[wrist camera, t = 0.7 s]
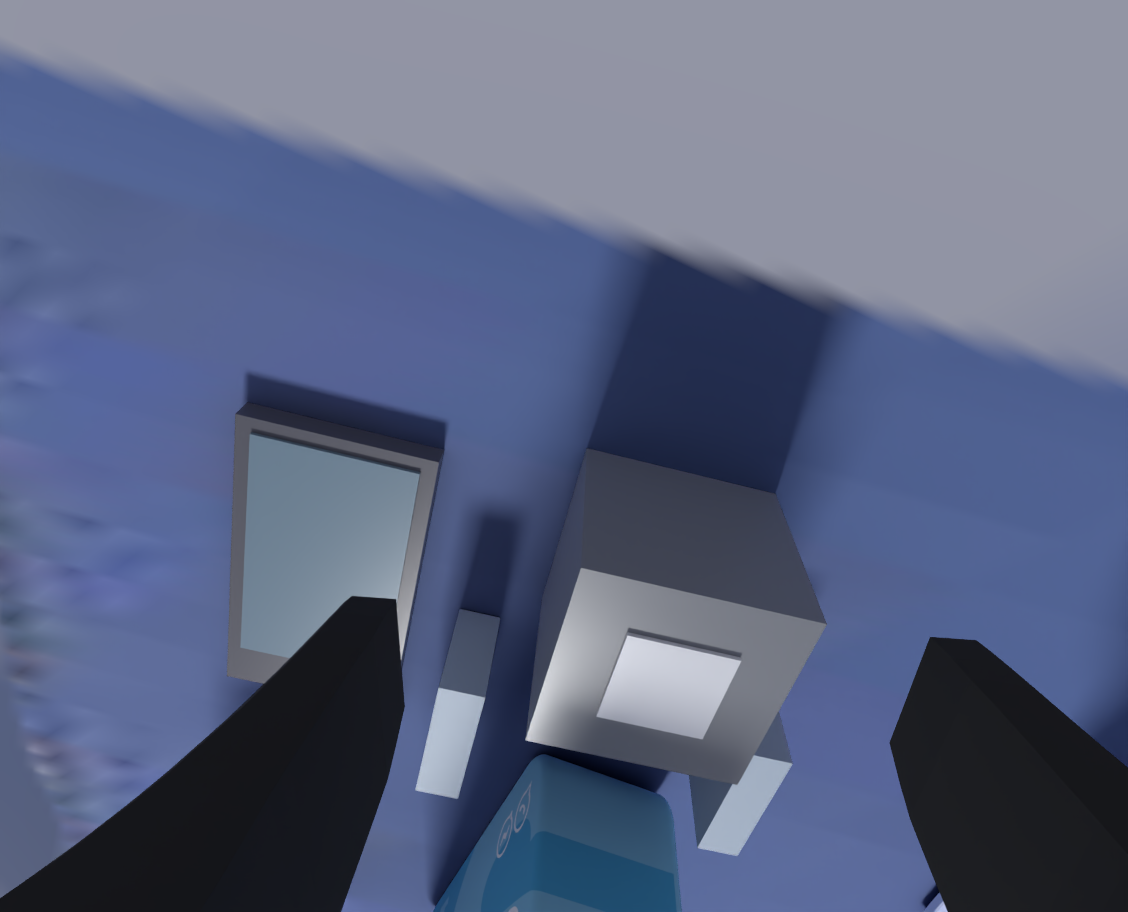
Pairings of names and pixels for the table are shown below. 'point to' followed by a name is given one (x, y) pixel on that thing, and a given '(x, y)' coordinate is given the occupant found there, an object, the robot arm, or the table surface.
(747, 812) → the socket rails
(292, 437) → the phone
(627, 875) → the data package
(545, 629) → the cube
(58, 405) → the table surface
